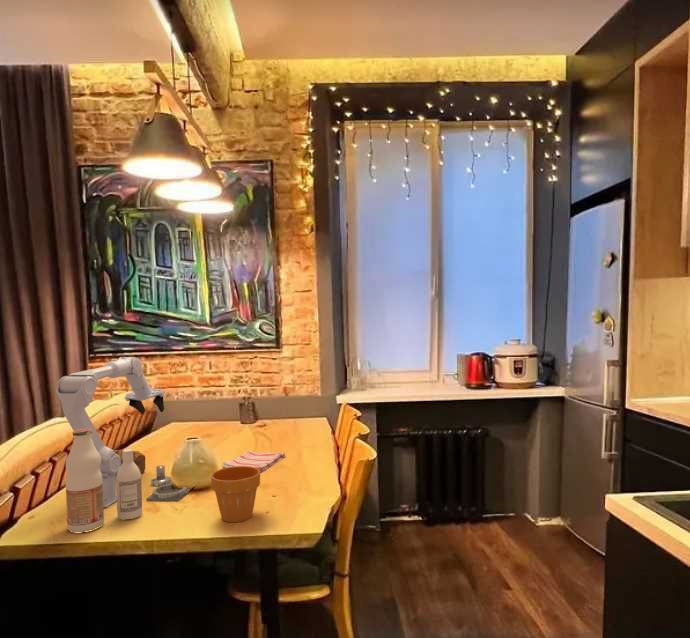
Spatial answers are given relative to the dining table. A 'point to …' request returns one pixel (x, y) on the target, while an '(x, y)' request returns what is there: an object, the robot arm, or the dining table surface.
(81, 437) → the fruit juice
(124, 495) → the bath foam
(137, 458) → the bread
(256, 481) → the flower pot
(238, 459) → the dish towel
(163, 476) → the planet gear
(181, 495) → the carrier plate
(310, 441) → the dining table surface
